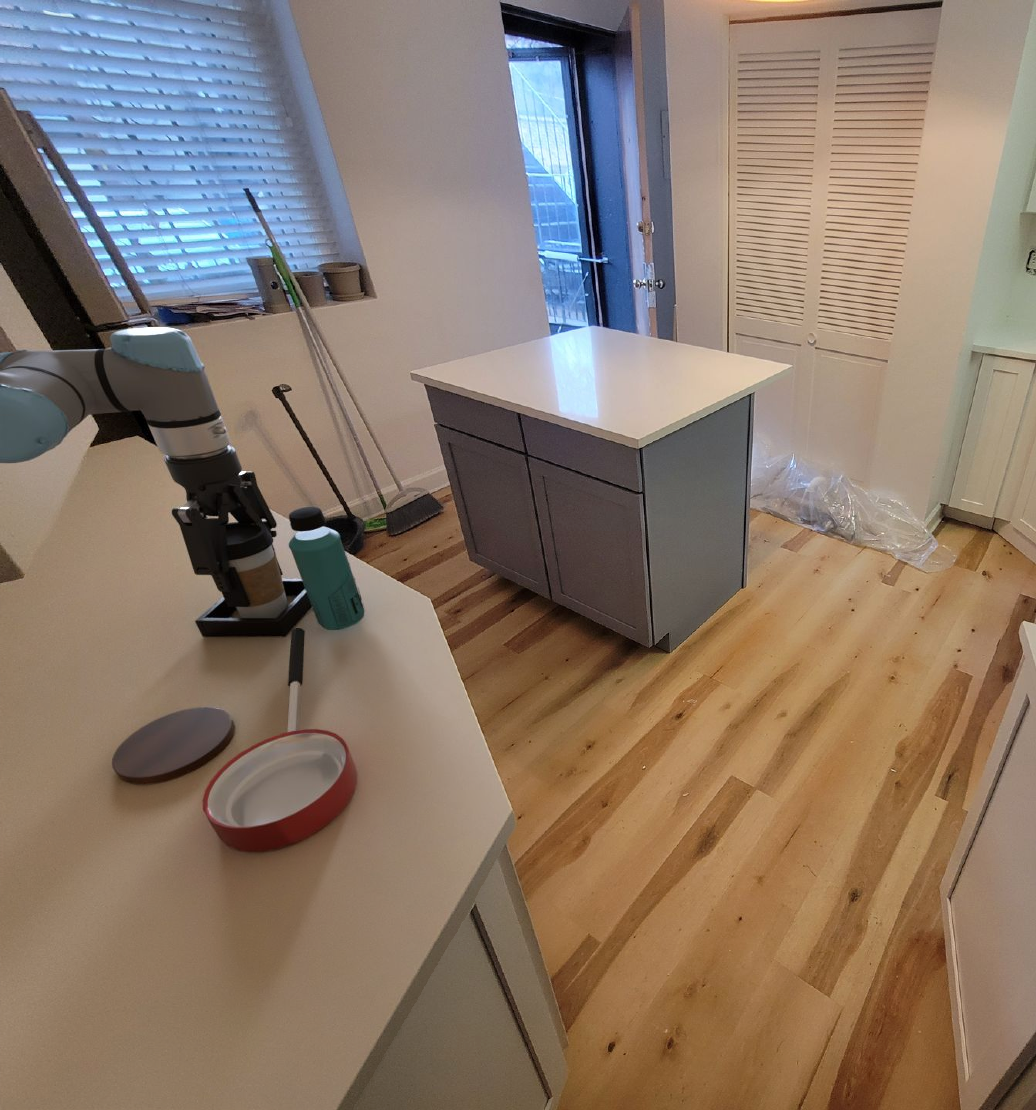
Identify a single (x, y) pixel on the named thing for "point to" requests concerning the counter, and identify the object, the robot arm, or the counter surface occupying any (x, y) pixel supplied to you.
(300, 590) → the black open frame
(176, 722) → the walnut coaster
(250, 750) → the frying pan
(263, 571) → the coffee cup
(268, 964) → the counter surface
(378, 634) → the counter surface
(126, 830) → the counter surface
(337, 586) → the beverage bottle
